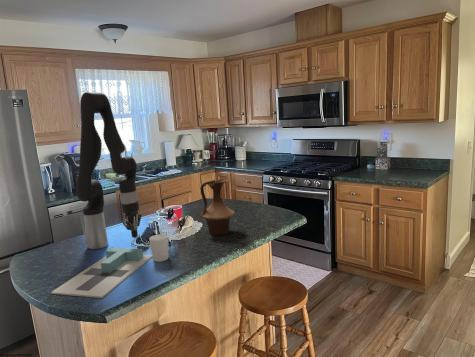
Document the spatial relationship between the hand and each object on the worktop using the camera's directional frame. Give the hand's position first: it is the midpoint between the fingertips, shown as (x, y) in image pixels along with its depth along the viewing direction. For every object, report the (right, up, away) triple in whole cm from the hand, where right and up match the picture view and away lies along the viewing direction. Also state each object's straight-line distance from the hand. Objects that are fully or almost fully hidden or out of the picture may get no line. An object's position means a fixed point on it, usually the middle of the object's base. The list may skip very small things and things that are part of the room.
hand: (135, 237), depth 171 cm
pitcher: (+38, -1, +21) cm, 43 cm away
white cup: (+14, -8, -9) cm, 18 cm away
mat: (-6, -12, -20) cm, 24 cm away
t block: (-4, -10, -13) cm, 17 cm away
